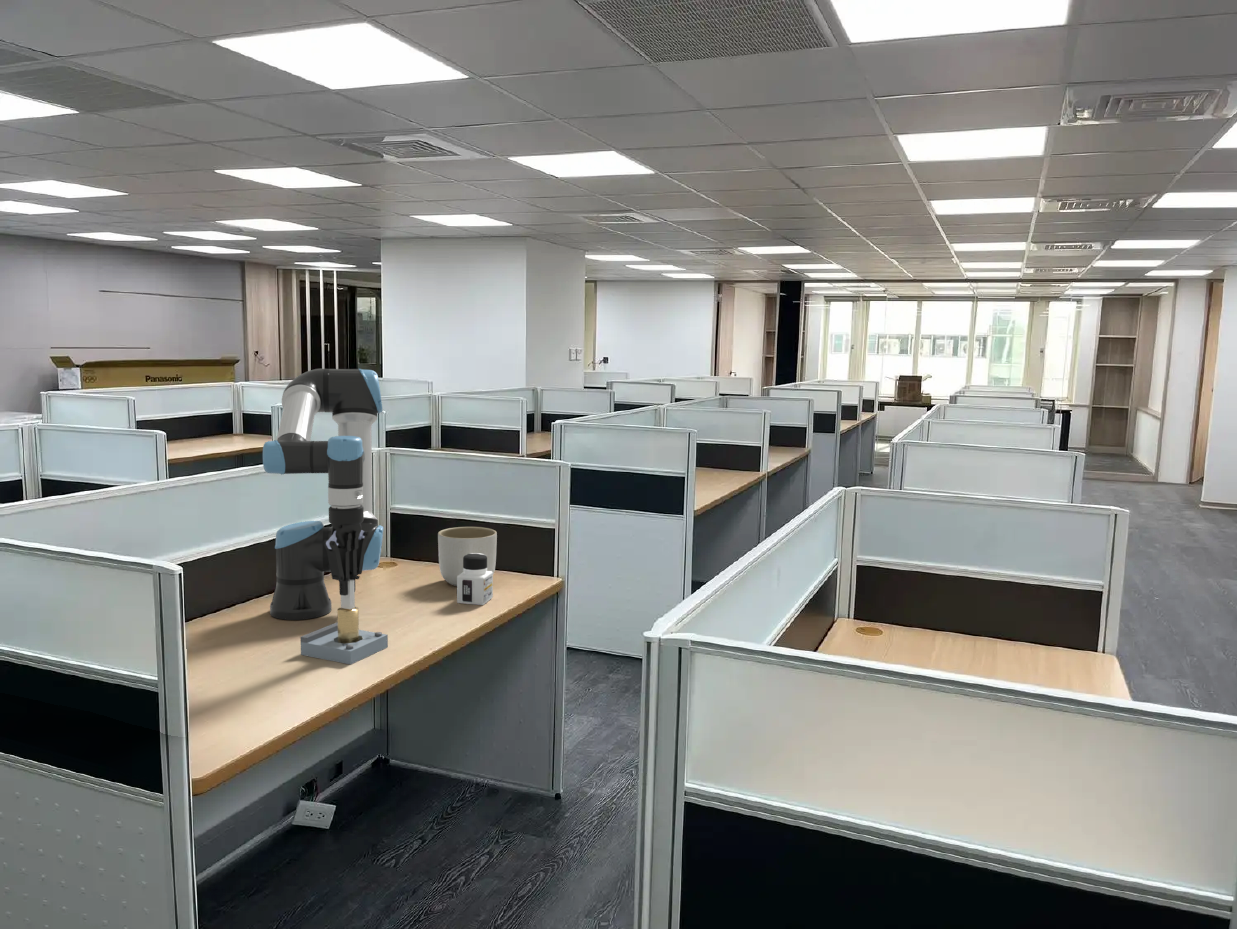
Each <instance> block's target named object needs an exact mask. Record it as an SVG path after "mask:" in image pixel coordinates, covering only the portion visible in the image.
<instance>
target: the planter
mask: <svg viewBox="0 0 1237 929" xmlns="http://www.w3.org/2000/svg"><path fill="white" fill-rule="evenodd" d="M497 534H498V533H497V531H496V530H494V529H492V528H489V527H482V526H458V527H449V528H445V529H442V530H440V531H438V533H437V543H438V544H437V545H438V546H437V547H438V548H437V549H438V565H439V573H440V574H441V577H442V578H443V579H444V581H446V583H447V584H449V585H451V586H455V587H457V576H458V575H460V574H461V573H463V572H464V571H463V557H464V556H465V555H467V554H470V553H481V554H484V555H486V556H487V571H492V572H493V575H494V574H495V570H496V562H497V545H498V544H497V543H498V542H497V540H498V539H497V538H498V535H497Z"/></svg>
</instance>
